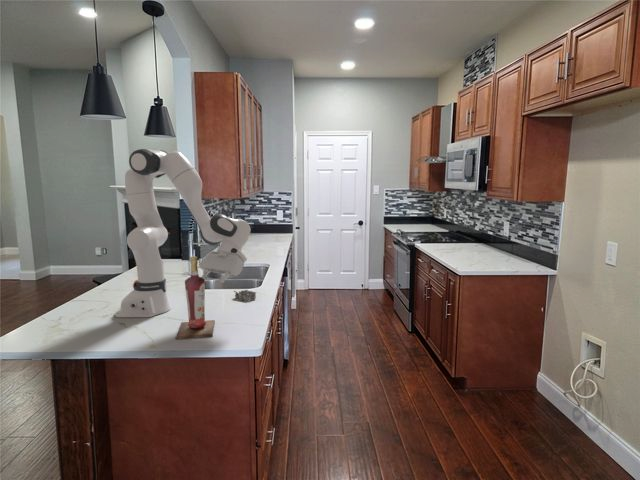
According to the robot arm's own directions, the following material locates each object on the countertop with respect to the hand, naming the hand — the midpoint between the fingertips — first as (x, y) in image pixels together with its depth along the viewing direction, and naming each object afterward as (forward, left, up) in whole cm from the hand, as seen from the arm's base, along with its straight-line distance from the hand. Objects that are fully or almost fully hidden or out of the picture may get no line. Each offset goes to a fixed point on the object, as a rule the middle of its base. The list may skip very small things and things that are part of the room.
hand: (212, 280), depth 159 cm
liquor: (-6, -7, -17) cm, 19 cm away
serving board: (-6, -7, -18) cm, 20 cm away
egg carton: (+14, +33, -18) cm, 40 cm away
